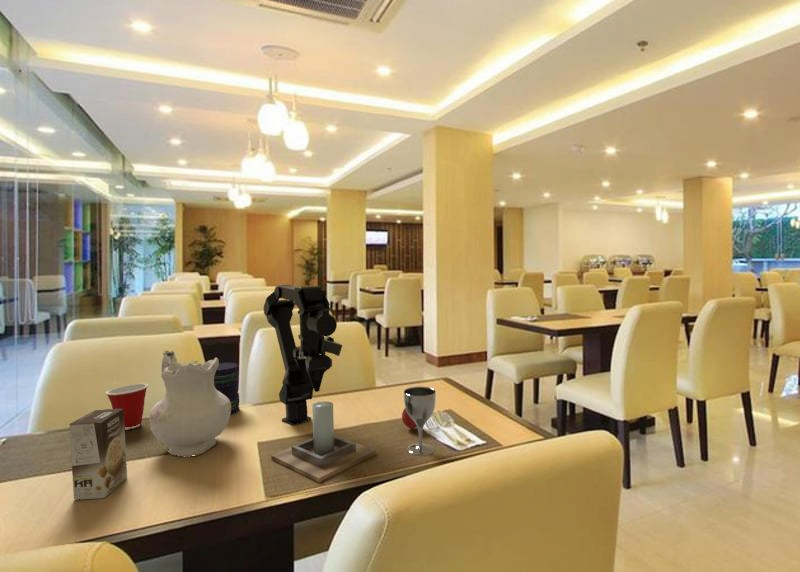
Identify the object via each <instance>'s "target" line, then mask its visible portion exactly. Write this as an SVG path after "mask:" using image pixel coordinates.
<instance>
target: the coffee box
mask: <svg viewBox="0 0 800 572" xmlns="http://www.w3.org/2000/svg"><path fill="white" fill-rule="evenodd" d="M69 441H70V453H71V473H72V475H71V476H72V487H73V488H72V490H73V500H74V499H75V500H74V501H80V500H95V499H97V500H98V499H105V498H106V497H107V496H108V495H109V494H111V493H112V492H113V491H114V490H116V488H117V487H118V486H120V485H121V484H120V483H121V482H122V483H123V482H124V481H125V480H126V479H127V478H128V469H127V468H128V467H127V465H128V464H127V451H126V445H127V444H126V433H125V427H124V409H113V408H107V409H95V410H93V411H91V412H89V413H88V414H85V415H84V416H82V417H80V418H78V419H76V420H74V421H72V422H70V423H69ZM79 499H80V500H79Z"/></svg>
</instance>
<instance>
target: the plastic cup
mask: <svg viewBox="0 0 800 572" xmlns="http://www.w3.org/2000/svg"><path fill="white" fill-rule="evenodd" d="M148 387H149V384H148V383H136V384H129V385H124V386H123V385H122V386H119V387H115V388H112V389H109V390H106V391H105V395H106V396H107V397H108V399H109V402H110V404H111V409H124V427H132V426H136V425H138V424H140V423H141V422H143V421H142V420H143V414H144V408H145V399H146V393H147V388H148ZM141 424H142V423H141Z"/></svg>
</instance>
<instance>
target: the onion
mask: <svg viewBox="0 0 800 572" xmlns="http://www.w3.org/2000/svg"><path fill="white" fill-rule="evenodd" d="M401 420H402V422H403V424H404V425H405V426H406V427H407V428H409V429H410V430H415V429H416V428H417V425H416V424H415V422H414V421H413V420H412V419H411V418H410V417H409V415H408V414H407V412H406V408H405V407H404V409H403V411H402V413H401Z"/></svg>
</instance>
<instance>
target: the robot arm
mask: <svg viewBox="0 0 800 572" xmlns="http://www.w3.org/2000/svg"><path fill="white" fill-rule="evenodd" d="M330 304H331V303H330V302H329V300H328V298H327V296H326V293H325V291H324V289H323V287H322V286H321V285H307V286H294V285H292V284H280V285H277V286H275V288H274V291H272V293H271V294H269V295H268V296H267V297H266V298H265V302H264V304H263V314H264V316H266V321H267V323H268V324H269V325H271V327H273V329H274V330H275V334H276V338H277V341H278V346H279V350H280V354H281V357H282V362H283V366H284V370H285V371H284V372H285V373H284V376H283V379H282V386H281V389H280V391H279V392H278V396H279V397H278V398H279V401H280V402H281V403H282V404H284V406H285V417H283V418H281V421H282V422H284V423H288V424H290V425H293V426H297V425H299V424H302V423H305V422H308V421H310V420H312V416H308V415H309V414H308V405H307V401H308V400H312V399H313V396H314V395H313V394H314V392H315V393H317V392H320V389H321V385H322V381H323V378H324V374H325V373H326V372H327V370H330V369H331V368H332V367H333V359H332V358H331V357H330V356H328V355H327V353H328V354H332V355H334V356H337V357H340V355H341V351H342V349H343V345H342V344H341V343H339V342H337V341H335V340H334V337H332V335H333V334H334V333H335V332H336V330H337V328H338V327H337V325H338V323H337V321H336V318H335V317H334V316H333V315H331V314H330V311H331V308H330ZM295 307H297V309H298V311H297V315H299V334H298V339H299V342H300V346H296V342H295V338H294V334H293V330H292V326H291V321H292V318H293V313H294V312H293V311H294V308H295Z"/></svg>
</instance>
